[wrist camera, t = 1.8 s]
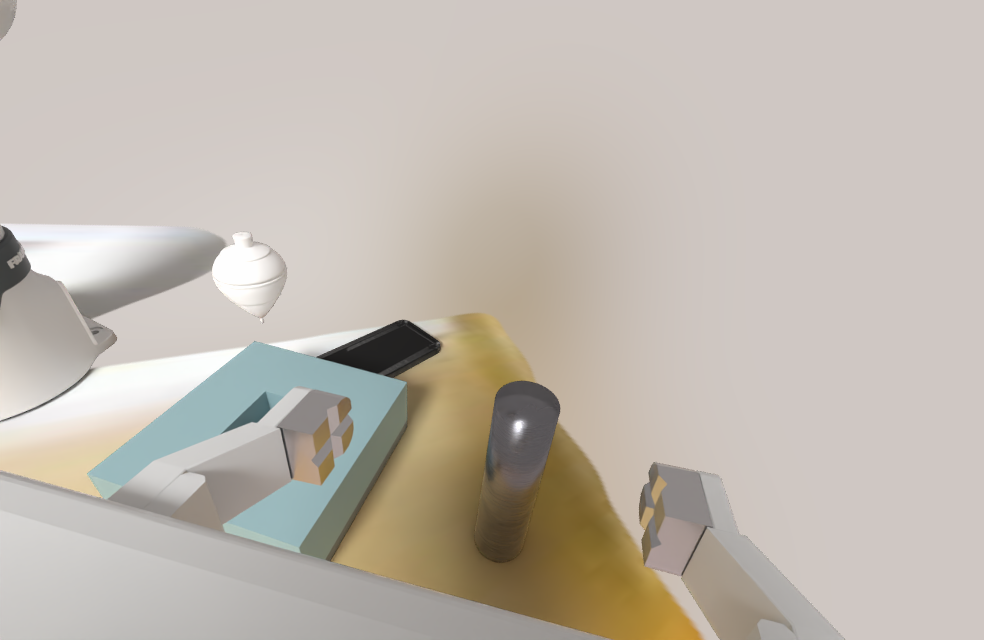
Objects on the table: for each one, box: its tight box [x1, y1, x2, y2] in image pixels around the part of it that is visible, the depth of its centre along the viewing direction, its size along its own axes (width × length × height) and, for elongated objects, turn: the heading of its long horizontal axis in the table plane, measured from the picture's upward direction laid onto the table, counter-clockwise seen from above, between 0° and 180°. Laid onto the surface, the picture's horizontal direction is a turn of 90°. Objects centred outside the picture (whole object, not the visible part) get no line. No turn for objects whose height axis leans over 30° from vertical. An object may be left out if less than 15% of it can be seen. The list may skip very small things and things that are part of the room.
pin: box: [474, 381, 560, 562], centre depth 30 cm, size 4×4×15 cm
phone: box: [316, 320, 440, 378], centre depth 51 cm, size 8×1×15 cm
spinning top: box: [212, 232, 287, 323], centre depth 51 cm, size 8×8×12 cm
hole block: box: [87, 341, 407, 561], centre depth 36 cm, size 16×16×6 cm
